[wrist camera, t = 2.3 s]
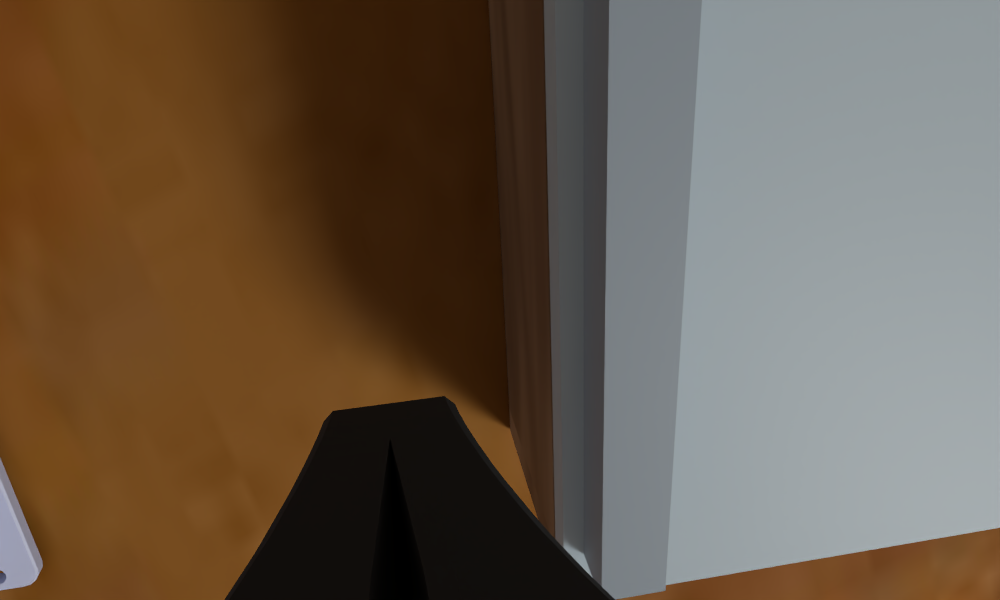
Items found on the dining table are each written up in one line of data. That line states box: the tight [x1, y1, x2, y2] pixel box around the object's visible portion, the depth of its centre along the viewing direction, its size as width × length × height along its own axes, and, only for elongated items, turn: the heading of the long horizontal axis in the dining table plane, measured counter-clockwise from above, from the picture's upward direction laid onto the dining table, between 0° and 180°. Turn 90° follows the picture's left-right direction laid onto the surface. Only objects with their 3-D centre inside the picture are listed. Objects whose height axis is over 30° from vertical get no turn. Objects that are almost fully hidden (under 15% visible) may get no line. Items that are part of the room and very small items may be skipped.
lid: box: [544, 0, 1000, 599], centre depth 13 cm, size 13×13×2 cm
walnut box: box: [488, 0, 555, 538], centre depth 16 cm, size 13×13×5 cm
